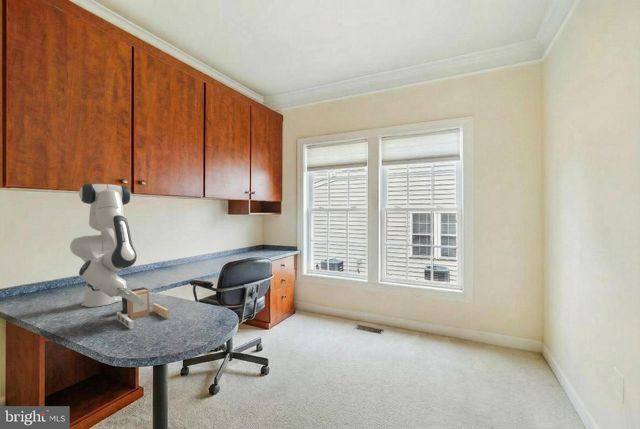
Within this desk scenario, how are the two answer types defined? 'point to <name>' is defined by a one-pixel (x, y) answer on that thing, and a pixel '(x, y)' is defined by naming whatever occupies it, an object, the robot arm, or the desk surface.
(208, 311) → the desk surface
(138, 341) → the desk surface
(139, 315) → the carton
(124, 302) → the small box
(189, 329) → the desk surface
